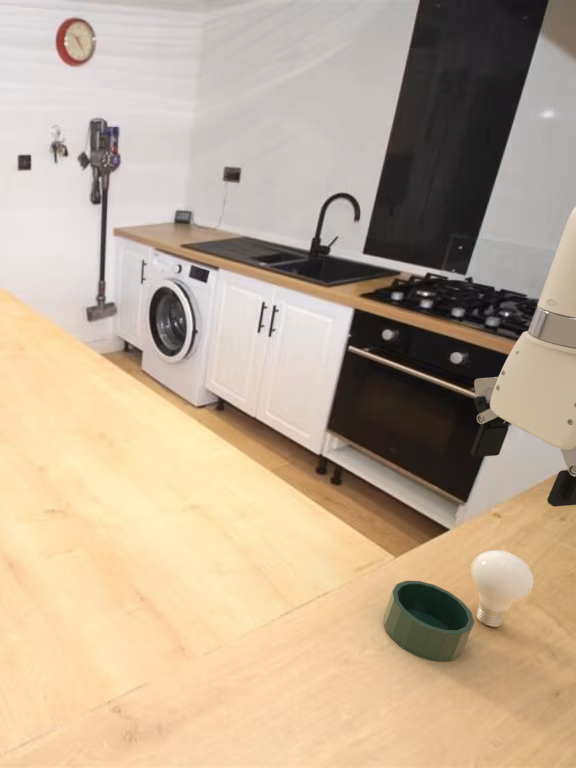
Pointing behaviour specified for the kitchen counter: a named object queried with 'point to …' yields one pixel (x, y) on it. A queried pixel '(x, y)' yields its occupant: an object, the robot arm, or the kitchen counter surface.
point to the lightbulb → (499, 583)
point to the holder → (428, 621)
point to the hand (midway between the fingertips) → (520, 477)
